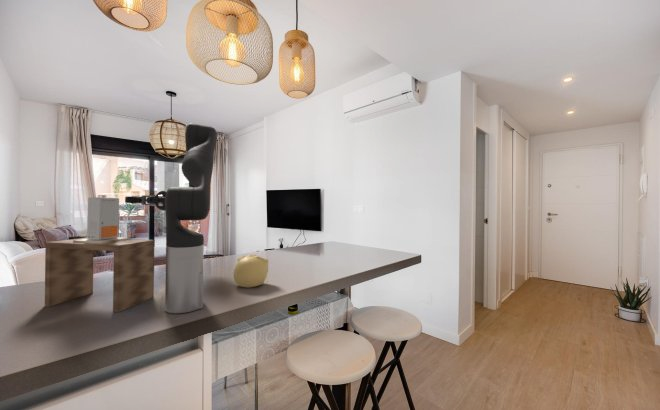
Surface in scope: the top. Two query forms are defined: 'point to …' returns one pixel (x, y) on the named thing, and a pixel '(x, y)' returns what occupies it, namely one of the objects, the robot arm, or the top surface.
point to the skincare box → (102, 218)
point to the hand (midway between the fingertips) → (137, 199)
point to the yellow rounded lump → (250, 271)
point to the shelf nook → (77, 270)
